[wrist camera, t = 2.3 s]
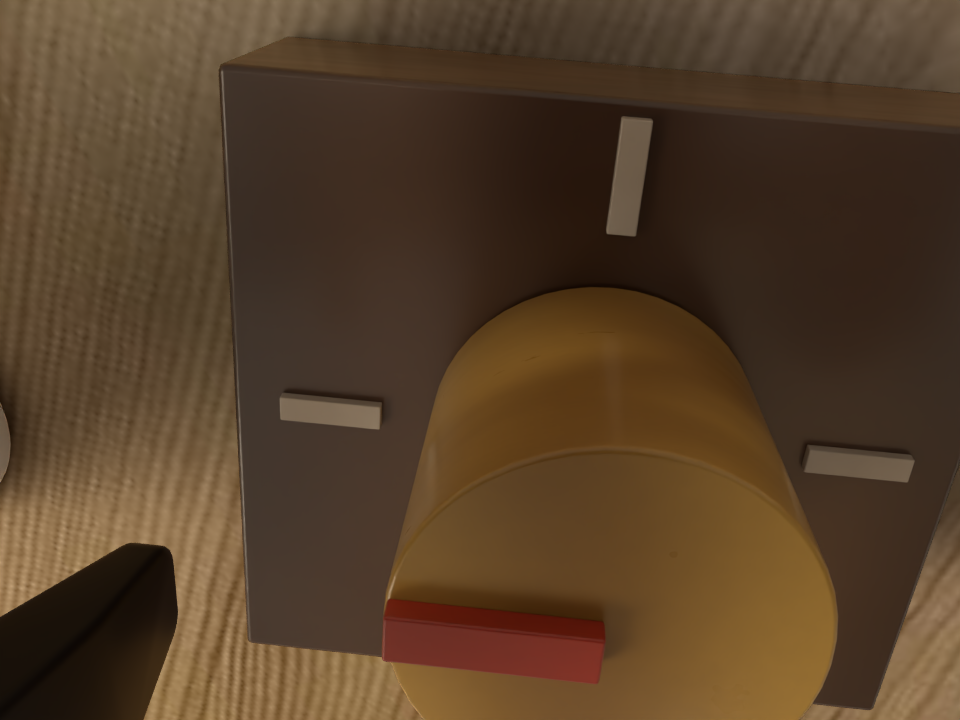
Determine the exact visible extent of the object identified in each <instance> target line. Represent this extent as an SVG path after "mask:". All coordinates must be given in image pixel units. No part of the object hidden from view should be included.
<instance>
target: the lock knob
mask: <svg viewBox="0 0 960 720" xmlns="http://www.w3.org/2000/svg"><path fill="white" fill-rule="evenodd" d="M837 629H838V611H837V603H836V595H835V590H834V587H833V584H832V580H831V577H830V574H829V571H828V568H827V565H826V563H825V561H824V558H823V556H822V554H821V551H820V549H819V547H818V544H817V542H816V539H815V537H814V535H813V532H812V530H811V528H810V525H809V523H808V521H807V518H806V516H805V513H804V511H803V509H802V506H801V504H800V502H799V499H798V497H797V495H796V492H795V490H794V488H793V485H792V483H791V480H790V478H789V476H788V473H787V471H786V469H785V466H784V464H783V462H782V459H781V457H780V454H779V452H778V450H777V447H776V445H775V443H774V440H773V438H772V436H771V433H770V431H769V428H768V426H767V424H766V421H765V419H764V417H763V414H762V412H761V410H760V407H759V405H758V403H757V400H756V398H755V395H754V393H753V391H752V388H751V386H750V384H749V381H748V379H747V377H746V375H745V373H744V371H743V369H742V367H741V365H740V363H739V361H738V360H737V359H736V357H735V356H734V354H733V353H732V351H731V350H730V349H729V347H728V346H727V345H726V344H725V343H724V342H723V340H722V339H721V338H720V337H719V336H718V335H717V334H716V333H715V332H714V331H713V330H712V329H710V328H709V327H708V326H707V325H705V324H704V323H703V322H702V321H700V320H699V319H698V318H697V317H695V316H693V315H692V314H690V313H688V312H687V311H685V310H683V309H682V308H680V307H678V306H676V305H674V304H671V303H669V302H667V301H664V300H662V299H660V298H657V297H654V296H650V295H647V294H643V293H640V292H636V291H630V290H624V289H618V288H603V287H586V288H575V289H566V290H561V291H557V292H552V293H547V294H544V295H541V296H538V297H535V298H532V299H529V300H526V301H524V302H522V303H520V304H518V305H516V306H514V307H512V308H510V309H508V310H506V311H504V312H502V313H501V314H499V315H498V316H496V317H495V318H493V319H492V320H490V321H489V322H487V323H486V324H485V325H484V326H483V327H481V328H480V329H479V330H478V331H477V332H476V333H475V334H473V335H472V336H471V337H470V338H469V340H468V341H467V342H466V343H465V344H464V345H463V346H462V348H461V349H460V350H459V351H458V352H457V354H456V355H455V357H454V359H453V360H452V362H451V363H450V365H449V366H448V368H447V370H446V372H445V374H444V376H443V378H442V381H441V383H440V385H439V388H438V391H437V395H436V398H435V402H434V406H433V409H432V413H431V417H430V421H429V425H428V429H427V433H426V437H425V441H424V445H423V449H422V453H421V457H420V461H419V464H418V468H417V472H416V476H415V480H414V484H413V488H412V492H411V496H410V500H409V504H408V508H407V512H406V516H405V520H404V523H403V527H402V531H401V535H400V539H399V543H398V547H397V551H396V555H395V559H394V563H393V567H392V571H391V575H390V578H389V582H388V586H387V590H386V597H385V606H384V616H383V632H382V659H383V661H386V662H391V664H392V667H393V669H394V672H395V675H396V677H397V680H398V682H399V684H400V686H401V688H402V689H403V691H404V693H405V695H406V696H407V698H408V700H409V702H410V703H411V704H412V706H413V707H414V708H415V709H416V711H417V712H418V713H419V715H420V716H421V717H422V719H423V720H800V719H801V718H802V717H803V716H804V714H805V713H806V712H807V711H808V709H809V708H810V707H811V705H812V703H813V702H814V700H815V699H816V697H817V695H818V694H819V692H820V690H821V689H822V687H823V684H824V682H825V679H826V677H827V674H828V672H829V670H830V667H831V664H832V660H833V655H834V651H835V646H836V642H837Z"/></svg>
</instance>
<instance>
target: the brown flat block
mask: <svg viewBox="0 0 960 720" xmlns="http://www.w3.org/2000/svg"><path fill="white" fill-rule="evenodd" d="M219 88H220V108H221V127H222V147H223V166H224V186H225V205H226V225H227V244H228V264H229V283H230V302H231V322H232V341H233V361H234V380H235V400H236V419H237V439H238V458H239V478H240V497H241V517H242V536H243V556H244V575H245V594H246V614H247V633H248V640H249V641H250V642H252V643H259V644H268V645H278V646H287V647H296V648H305V649H314V650H323V651H332V652H342V653H351V654H360V655H369V656H378V657H382V632H383V616H384V606H385V597H386V590H387V586H388V582H389V578H390V575H391V571H392V567H393V563H394V559H395V555H396V551H397V547H398V543H399V539H400V535H401V531H402V527H403V523H404V520H405V516H406V512H407V508H408V504H409V500H410V496H411V492H412V488H413V484H414V480H415V476H416V472H417V468H418V464H419V461H420V457H421V453H422V449H423V445H424V441H425V437H426V433H427V429H428V425H429V421H430V417H431V413H432V409H433V406H434V402H435V398H436V395H437V391H438V388H439V385H440V383H441V381H442V378H443V376H444V374H445V372H446V370H447V368H448V366H449V365H450V363H451V362H452V360H453V359H454V357H455V355H456V354H457V352H458V351H459V350H460V349H461V348H462V346H463V345H464V344H465V343H466V342H467V341H468V340H469V338H470V337H471V336H472V335H473V334H475V333H476V332H477V331H478V330H479V329H480V328H481V327H483V326H484V325H485V324H486V323H487V322H489V321H490V320H492V319H493V318H495V317H496V316H498V315H499V314H501V313H502V312H504V311H506V310H508V309H510V308H512V307H514V306H516V305H518V304H520V303H522V302H524V301H526V300H529V299H532V298H535V297H538V296H541V295H544V294H547V293H552V292H557V291H561V290H566V289H575V288H586V287H603V288H618V289H624V290H630V291H636V292H640V293H643V294H647V295H650V296H654V297H657V298H660V299H662V300H664V301H667V302H669V303H671V304H674V305H676V306H678V307H680V308H682V309H683V310H685V311H687V312H688V313H690V314H692V315H693V316H695V317H697V318H698V319H699V320H700V321H702V322H703V323H704V324H705V325H707V326H708V327H709V328H710V329H712V330H713V331H714V332H715V333H716V334H717V335H718V336H719V337H720V338H721V339H722V340H723V342H724V343H725V344H726V345H727V346H728V347H729V349H730V350H731V351H732V353H733V354H734V356H735V357H736V359H737V360H738V361H739V363H740V365H741V367H742V369H743V371H744V373H745V375H746V377H747V379H748V381H749V384H750V386H751V388H752V391H753V393H754V395H755V398H756V400H757V403H758V405H759V407H760V410H761V412H762V414H763V417H764V419H765V421H766V424H767V426H768V428H769V431H770V433H771V436H772V438H773V440H774V443H775V445H776V447H777V450H778V452H779V454H780V457H781V459H782V462H783V464H784V466H785V469H786V471H787V473H788V476H789V478H790V480H791V483H792V485H793V488H794V490H795V492H796V495H797V497H798V499H799V502H800V504H801V506H802V509H803V511H804V513H805V516H806V518H807V521H808V523H809V525H810V528H811V530H812V532H813V535H814V537H815V539H816V542H817V544H818V547H819V549H820V551H821V554H822V556H823V558H824V561H825V563H826V565H827V568H828V571H829V574H830V577H831V580H832V584H833V587H834V590H835V595H836V603H837V611H838V629H837V642H836V646H835V651H834V655H833V660H832V664H831V667H830V670H829V672H828V674H827V677H826V679H825V682H824V684H823V687H822V689H821V690H820V692H819V694H818V695H817V697H816V699H815V700H814V702H813V703H812V704H817V705H826V706H836V707H845V708H854V709H863V710H871V709H872V708H873V707H874V704H875V701H876V698H877V696H878V693H879V690H880V687H881V684H882V681H883V679H884V676H885V673H886V670H887V667H888V664H889V662H890V659H891V656H892V653H893V650H894V647H895V644H896V642H897V639H898V636H899V633H900V630H901V627H902V625H903V622H904V619H905V616H906V613H907V610H908V608H909V605H910V602H911V599H912V596H913V593H914V591H915V588H916V585H917V582H918V579H919V576H920V574H921V571H922V568H923V565H924V562H925V559H926V557H927V554H928V551H929V548H930V545H931V542H932V540H933V537H934V534H935V531H936V528H937V525H938V523H939V520H940V517H941V514H942V511H943V508H944V505H945V503H946V500H947V497H948V494H949V491H950V488H951V486H952V483H953V480H954V477H955V474H956V471H957V469H958V466H959V463H960V94H958V93H946V92H934V91H922V90H910V89H899V88H887V87H875V86H863V85H851V84H839V83H828V82H816V81H804V80H792V79H780V78H769V77H757V76H745V75H733V74H721V73H709V72H698V71H686V70H674V69H662V68H650V67H639V66H627V65H615V64H603V63H591V62H579V61H568V60H556V59H544V58H532V57H520V56H509V55H497V54H485V53H473V52H461V51H449V50H438V49H426V48H414V47H402V46H390V45H379V44H367V43H355V42H343V41H331V40H319V39H308V38H296V37H286V38H284V39H281V40H279V41H276V42H274V43H272V44H269V45H267V46H264V47H262V48H260V49H257V50H255V51H252V52H250V53H248V54H245V55H243V56H240V57H238V58H235V59H233V60H231V61H228V62H226V63H223V64H221V65H220V67H219Z"/></svg>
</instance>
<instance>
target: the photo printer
mask: <svg viewBox="0 0 960 720" xmlns="http://www.w3.org/2000/svg"><path fill="white" fill-rule="evenodd" d="M10 447H11V443H10V433H9V428H8V423H7V419H6V416H5V413H4V410H3V408H2V405H1V403H0V483H1V481H2V479H3V477H4V475H5V473H6V470H7V467H8V463H9V458H10Z"/></svg>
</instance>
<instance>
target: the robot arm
mask: <svg viewBox="0 0 960 720" xmlns="http://www.w3.org/2000/svg"><path fill="white" fill-rule="evenodd" d="M177 616H178V607H177V597H176V586H175V575H174V565H173V557H172V554H171V552H170V550H169V549H167V548H166V547H165V546H159V545H150V544H141V543H128V544H125V545H123V546H121V547H119V548H118V549H116V550H114V551H113V552H111V553H109V554H107V555H106V556H104V557H102V558H101V559H99V560H97V561H95V562H94V563H92V564H90V565H89V566H87V567H85V568H83V569H82V570H80V571H78V572H77V573H75V574H73V575H71V576H70V577H68V578H66V579H65V580H63V581H61V582H59V583H58V584H56V585H54V586H53V587H51V588H49V589H47V590H46V591H44V592H42V593H41V594H39V595H37V596H35V597H34V598H32V599H30V600H29V601H27V602H25V603H24V604H22V605H20V606H18V607H17V608H15V609H13V610H12V611H10V612H8V613H6V614H5V615H3V616H1V617H0V720H143V719H144V716H145V714H146V711H147V708H148V705H149V703H150V700H151V697H152V694H153V692H154V689H155V686H156V683H157V680H158V678H159V675H160V672H161V669H162V667H163V664H164V661H165V658H166V656H167V653H168V650H169V647H170V644H171V642H172V639H173V636H174V633H175V629H176V624H177Z"/></svg>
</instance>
